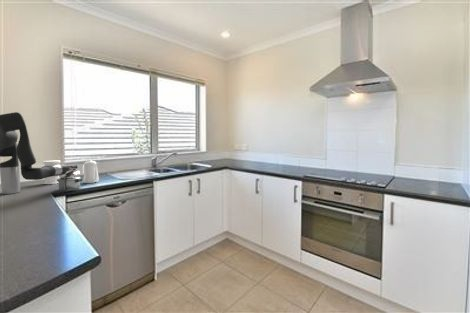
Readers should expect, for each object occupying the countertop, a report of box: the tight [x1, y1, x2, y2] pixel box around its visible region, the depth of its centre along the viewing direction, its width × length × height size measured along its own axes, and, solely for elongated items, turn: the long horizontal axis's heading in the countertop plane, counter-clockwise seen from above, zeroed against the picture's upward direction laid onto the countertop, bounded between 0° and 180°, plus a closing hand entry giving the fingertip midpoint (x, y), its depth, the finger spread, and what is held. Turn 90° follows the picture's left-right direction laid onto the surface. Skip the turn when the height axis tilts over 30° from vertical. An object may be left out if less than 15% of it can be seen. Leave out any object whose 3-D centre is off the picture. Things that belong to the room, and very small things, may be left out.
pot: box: [57, 176, 83, 192], centre depth 168 cm, size 14×16×8 cm
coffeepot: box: [82, 159, 100, 184], centre depth 194 cm, size 11×25×19 cm, turn 58°
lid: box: [59, 169, 81, 179], centre depth 168 cm, size 13×12×2 cm
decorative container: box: [42, 159, 61, 185], centre depth 190 cm, size 12×12×18 cm
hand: (76, 166), depth 174 cm, fingers closed
